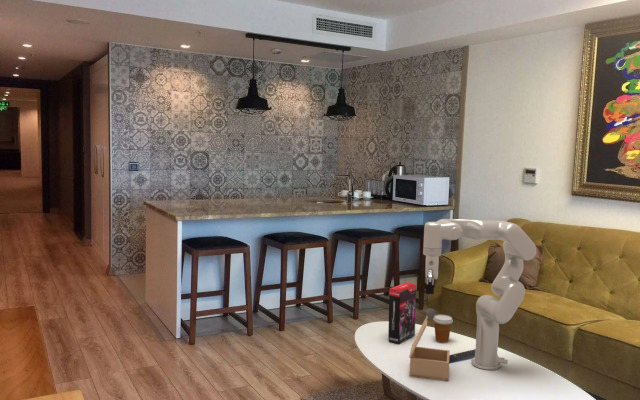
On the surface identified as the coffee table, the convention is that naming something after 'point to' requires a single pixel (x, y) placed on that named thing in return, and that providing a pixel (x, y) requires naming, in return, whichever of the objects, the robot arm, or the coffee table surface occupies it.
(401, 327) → the graphics card box
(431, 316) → the carton lid
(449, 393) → the coffee table surface
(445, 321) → the disposable coffee cup
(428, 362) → the carton
